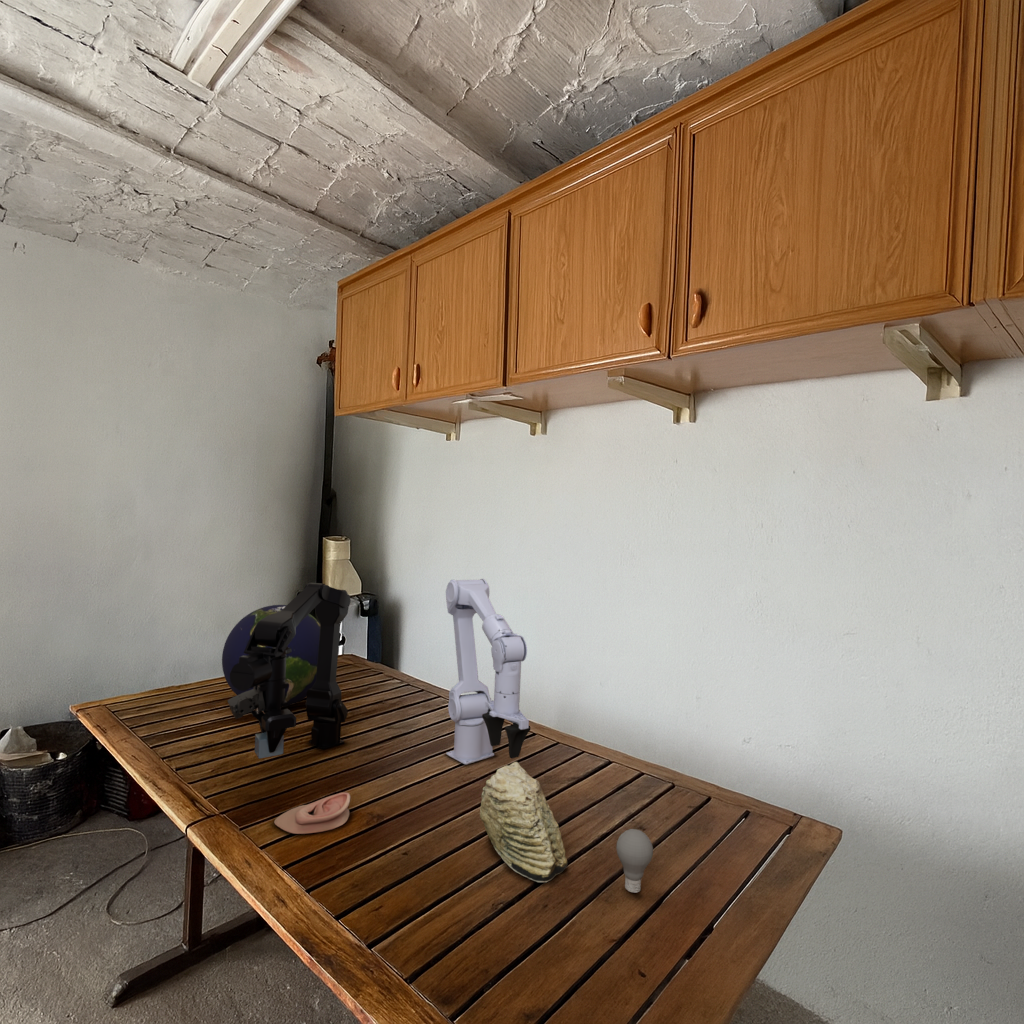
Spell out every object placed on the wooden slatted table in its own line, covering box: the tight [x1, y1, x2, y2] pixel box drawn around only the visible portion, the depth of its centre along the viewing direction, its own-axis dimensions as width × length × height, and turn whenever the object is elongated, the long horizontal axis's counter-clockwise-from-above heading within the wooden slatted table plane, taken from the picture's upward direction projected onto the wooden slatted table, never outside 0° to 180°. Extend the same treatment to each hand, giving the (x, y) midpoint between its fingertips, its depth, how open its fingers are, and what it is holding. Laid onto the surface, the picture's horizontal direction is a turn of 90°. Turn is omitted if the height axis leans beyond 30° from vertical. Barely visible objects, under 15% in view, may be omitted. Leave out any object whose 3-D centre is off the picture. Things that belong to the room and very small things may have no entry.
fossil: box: [479, 761, 569, 883], centre depth 114 cm, size 9×18×15 cm, turn 46°
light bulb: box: [615, 828, 654, 894], centre depth 106 cm, size 6×6×10 cm
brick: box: [254, 732, 285, 759], centre depth 138 cm, size 4×5×4 cm
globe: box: [221, 604, 320, 707], centre depth 188 cm, size 30×30×30 cm
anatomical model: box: [274, 791, 351, 835], centre depth 124 cm, size 13×4×12 cm
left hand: (269, 748), depth 138 cm, fingers closed on brick, 4 cm apart
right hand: (504, 751), depth 141 cm, fingers open, 7 cm apart
